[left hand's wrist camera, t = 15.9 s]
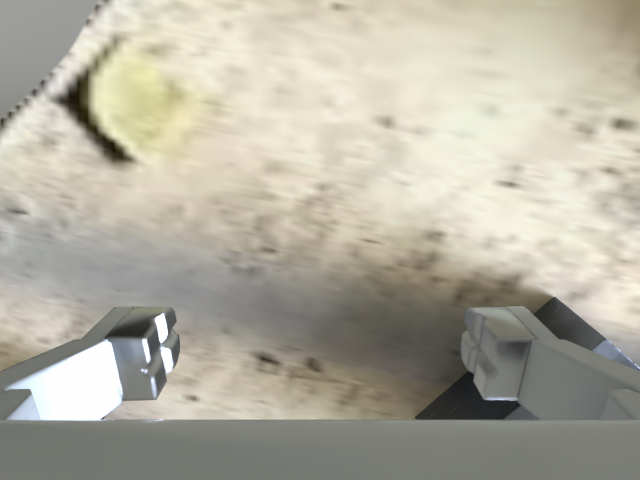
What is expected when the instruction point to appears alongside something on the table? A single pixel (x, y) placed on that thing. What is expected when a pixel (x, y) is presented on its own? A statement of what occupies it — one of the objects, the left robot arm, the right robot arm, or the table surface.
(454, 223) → the table surface
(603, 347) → the box
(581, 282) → the table surface
